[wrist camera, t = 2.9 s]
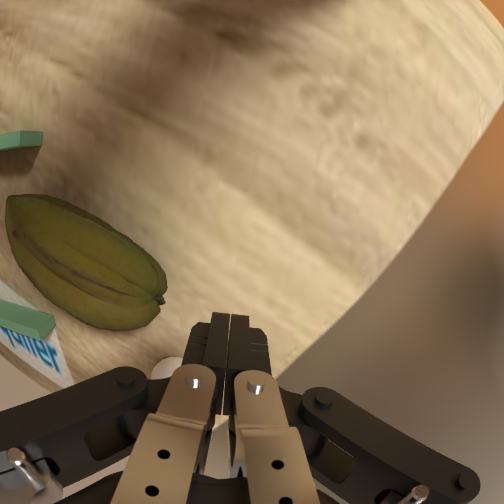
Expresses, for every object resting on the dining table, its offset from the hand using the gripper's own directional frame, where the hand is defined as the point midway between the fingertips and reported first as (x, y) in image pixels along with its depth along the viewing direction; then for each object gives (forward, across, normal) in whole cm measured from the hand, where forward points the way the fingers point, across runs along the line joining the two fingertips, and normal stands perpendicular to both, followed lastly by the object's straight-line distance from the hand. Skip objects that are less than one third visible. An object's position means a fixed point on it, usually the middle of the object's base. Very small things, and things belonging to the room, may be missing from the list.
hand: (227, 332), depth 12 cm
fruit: (+10, +11, 0) cm, 15 cm away
